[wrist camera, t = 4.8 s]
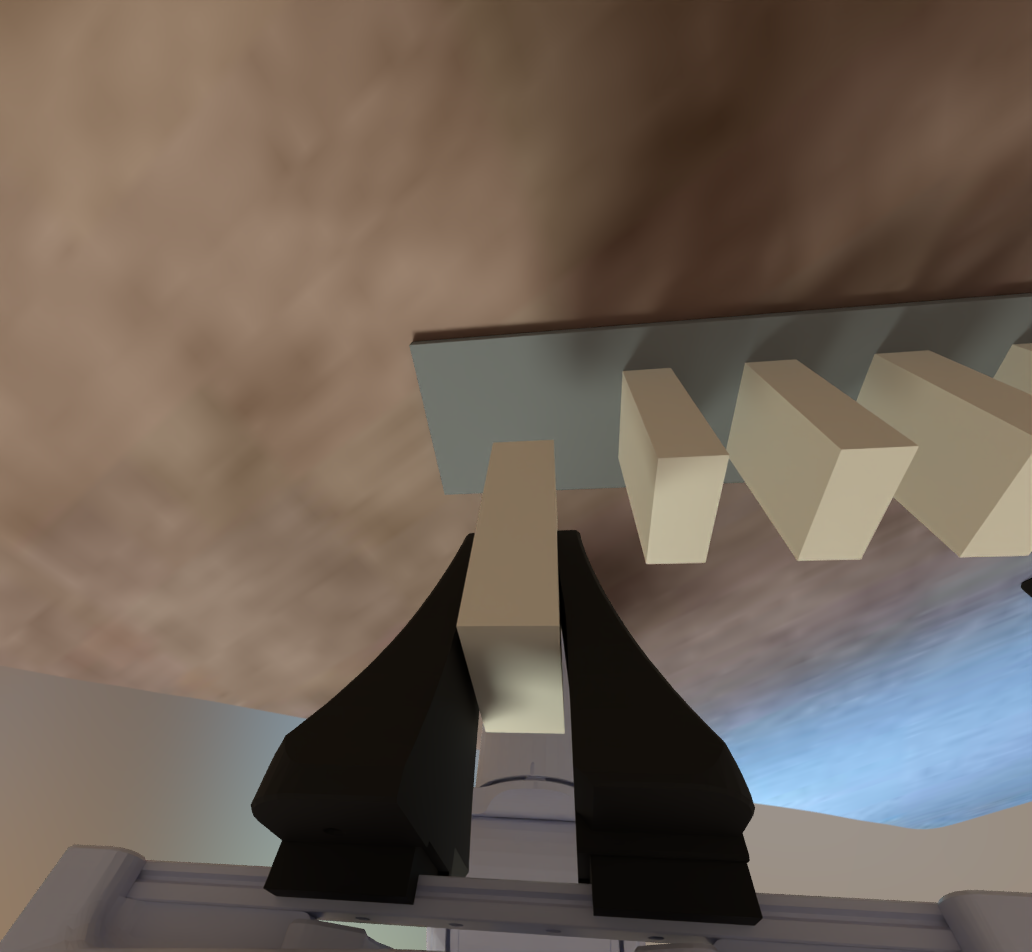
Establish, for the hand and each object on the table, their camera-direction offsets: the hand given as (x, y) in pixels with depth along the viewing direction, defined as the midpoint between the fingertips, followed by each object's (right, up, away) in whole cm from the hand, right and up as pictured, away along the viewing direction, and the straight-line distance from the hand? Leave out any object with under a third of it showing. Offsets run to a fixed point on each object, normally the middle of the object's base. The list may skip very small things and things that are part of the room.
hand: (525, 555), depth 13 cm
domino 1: (0, +2, +2) cm, 3 cm away
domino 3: (+10, +5, +6) cm, 13 cm away
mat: (+11, +6, +6) cm, 13 cm away
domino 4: (+15, +6, +5) cm, 17 cm away
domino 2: (+6, +5, +6) cm, 10 cm away
